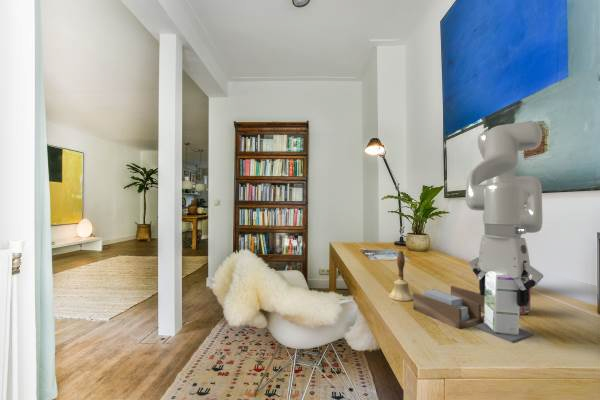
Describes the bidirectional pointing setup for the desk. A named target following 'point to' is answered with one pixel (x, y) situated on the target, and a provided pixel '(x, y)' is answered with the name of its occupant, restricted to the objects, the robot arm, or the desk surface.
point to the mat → (507, 337)
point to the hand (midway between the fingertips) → (502, 299)
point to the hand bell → (401, 283)
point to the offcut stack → (448, 301)
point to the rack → (452, 307)
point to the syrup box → (501, 303)
